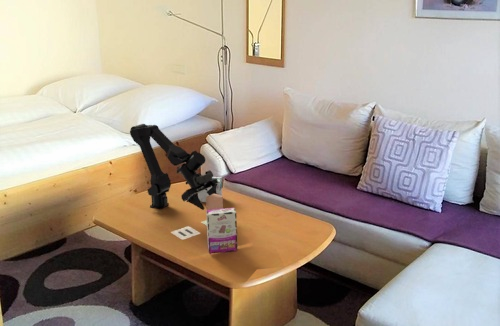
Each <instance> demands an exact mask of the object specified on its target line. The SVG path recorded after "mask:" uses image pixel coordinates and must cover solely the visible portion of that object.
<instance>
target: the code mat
mask: <svg viewBox="0 0 500 326" xmlns="http://www.w3.org/2000/svg"><path fill="white" fill-rule="evenodd" d="M200 223H201V224H203V225H205V226H206V227H207V219H205V220H203V221H200ZM170 233H171V234H173V235H174V236H176V237H177V238H179V239H180V240H182V241H183V240H186V239H190V238H191V237H192V238H193V237H195V236H197V235H201V234H202V233H201V232H199V231H197V230H196V229H194V228H193V227H191V226H189V225H187V226H185V227H182V228H179V229H175V230H173V231H170Z"/></svg>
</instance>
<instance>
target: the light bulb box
mask: <svg viewBox="0 0 500 326" xmlns="http://www.w3.org/2000/svg"><path fill="white" fill-rule="evenodd" d="M213 178H215V179H217V180H218V182H219V183H218V185H217V187H216V192H217V195H221V196H223V179H222V178H223V177H222V176H213V177H212V179H213ZM205 184H206V183H205ZM201 189H202V188H201ZM207 196H209V195H208V193H207V191H206V190H202V191H200V192H198V198H199V199H200V201H201V203H206V197H207Z"/></svg>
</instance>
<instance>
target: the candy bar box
mask: <svg viewBox="0 0 500 326" xmlns="http://www.w3.org/2000/svg"><path fill="white" fill-rule="evenodd" d="M205 210H206V209H205ZM205 214H206V220H207V226H206V235H207V249H208V253H209V254H219V253H228V252H237V251H238V232H237V231H238V230H237V229H238V227H237V226H238V225H237V221H238V220H237V210H236V209H235V207H226V208H224V207H223V209H214V210H206V212H205Z"/></svg>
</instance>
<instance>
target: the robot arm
mask: <svg viewBox="0 0 500 326" xmlns="http://www.w3.org/2000/svg"><path fill="white" fill-rule="evenodd" d="M129 134H130V137H131V138H132V140H133V142H134V143H136V144H137V145H138V147H139V148H140V151H141V153H142V156H143V158H144V161H145V162H146V166H147V168H148V170H149V173H150V181H149V183H150V187H149V188H148V189H147V194H148V196H150V197H151V198H150V199H151V204H150V205H149V207H150V208H153V209H159V210H163V209H164V208H166V207H167V206H168V205H169V204H170V203H169V201H168V196H167V193H168V192H170V188H171V186H172V182H171V178H170V176H169V173H167V172H166V173H165V172H163V170H162V169H161V166H160V163H159V160H158V158H157V156H156V154H155V152H154V148H153V146H152V144H151V138H152V139H153V141H155V143H157V144H158V146H159V147H160V148H161V149H162V150H163V151H164V152H165V153H166V156H167V159H168V161H169V162H170V164H171V165H172V166H177V169H176V174H179V173H181V175H182V177H183V179H184V180H185V181H186V182H185V185H189V187H190V188H187V189H186V190H185V191H184V192H183V193H182V194H181V195H180V196H181V200H182V201H183V202H186V203H189V204H192V205H194V206H196V207H197V208H199V209H201V210H203V211H204V210H206V209H205V208H206V207H205V205H204V204H203V202H201V201H200V199H199V198H198V192H200V191H202V190H206V191H207V193H208V195H212V194H217V192H216V187H217V185H218V183H219V182H218V180H217V179H215V178H213V179H212V177H214V174H213V172H212V171H211V170H207V171H205V174H201V172H197V171H198V170H199V169H200V168H201V167H202V166H203V165H204V164H205V163H206V157H205V155H203V153H200V152H198V151H197V150H196V149H195V150H192V151H191V152H190V153H189V152H187V151H186V150H185V149H184V148H182V147H181V146H178V145H175V144H174V143H173V141H172V140H170V139H169V138H168V137H167V135H165V133H164V132H163V131H161V130H160V128H159V126H158V125H156V124H148V125H147V124H146V123H141V124H137V125H135V126H132V127H131V128H130V130H129ZM205 183H206V184H205ZM201 188H202V189H201Z"/></svg>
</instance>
